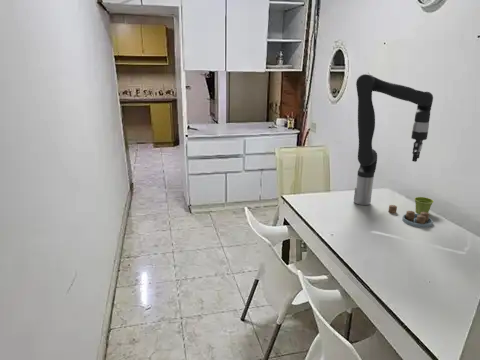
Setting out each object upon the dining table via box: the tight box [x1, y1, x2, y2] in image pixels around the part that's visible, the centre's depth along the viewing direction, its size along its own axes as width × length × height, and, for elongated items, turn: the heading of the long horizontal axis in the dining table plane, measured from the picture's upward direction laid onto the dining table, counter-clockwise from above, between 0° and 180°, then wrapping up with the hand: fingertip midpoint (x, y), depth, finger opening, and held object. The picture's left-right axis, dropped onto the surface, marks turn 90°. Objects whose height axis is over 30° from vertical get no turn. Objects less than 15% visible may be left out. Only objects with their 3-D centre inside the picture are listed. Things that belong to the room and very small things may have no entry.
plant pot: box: [414, 196, 435, 214], centre depth 191 cm, size 9×9×9 cm
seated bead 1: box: [416, 215, 426, 224], centre depth 177 cm, size 4×4×4 cm
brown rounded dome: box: [405, 210, 416, 222], centre depth 182 cm, size 4×4×4 cm
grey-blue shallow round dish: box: [402, 213, 434, 228], centre depth 181 cm, size 14×14×3 cm
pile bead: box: [388, 204, 398, 214], centre depth 193 cm, size 4×4×4 cm
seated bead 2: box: [420, 212, 430, 223], centre depth 181 cm, size 4×4×4 cm
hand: (415, 159), depth 189 cm, fingers open, 8 cm apart
